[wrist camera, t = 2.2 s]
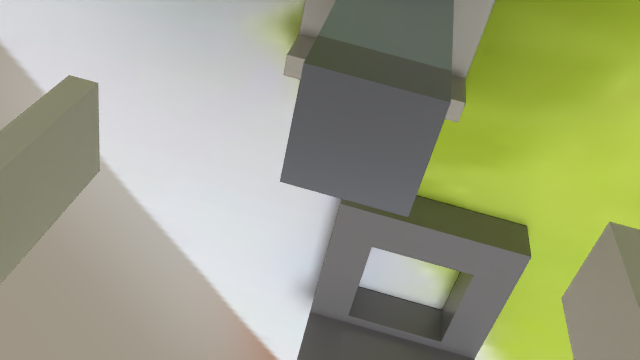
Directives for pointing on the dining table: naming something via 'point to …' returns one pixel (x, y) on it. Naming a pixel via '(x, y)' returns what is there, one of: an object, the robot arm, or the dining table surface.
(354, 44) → the plug
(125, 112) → the dining table surface
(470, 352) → the port
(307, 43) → the grey u-shaped block
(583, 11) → the dining table surface
